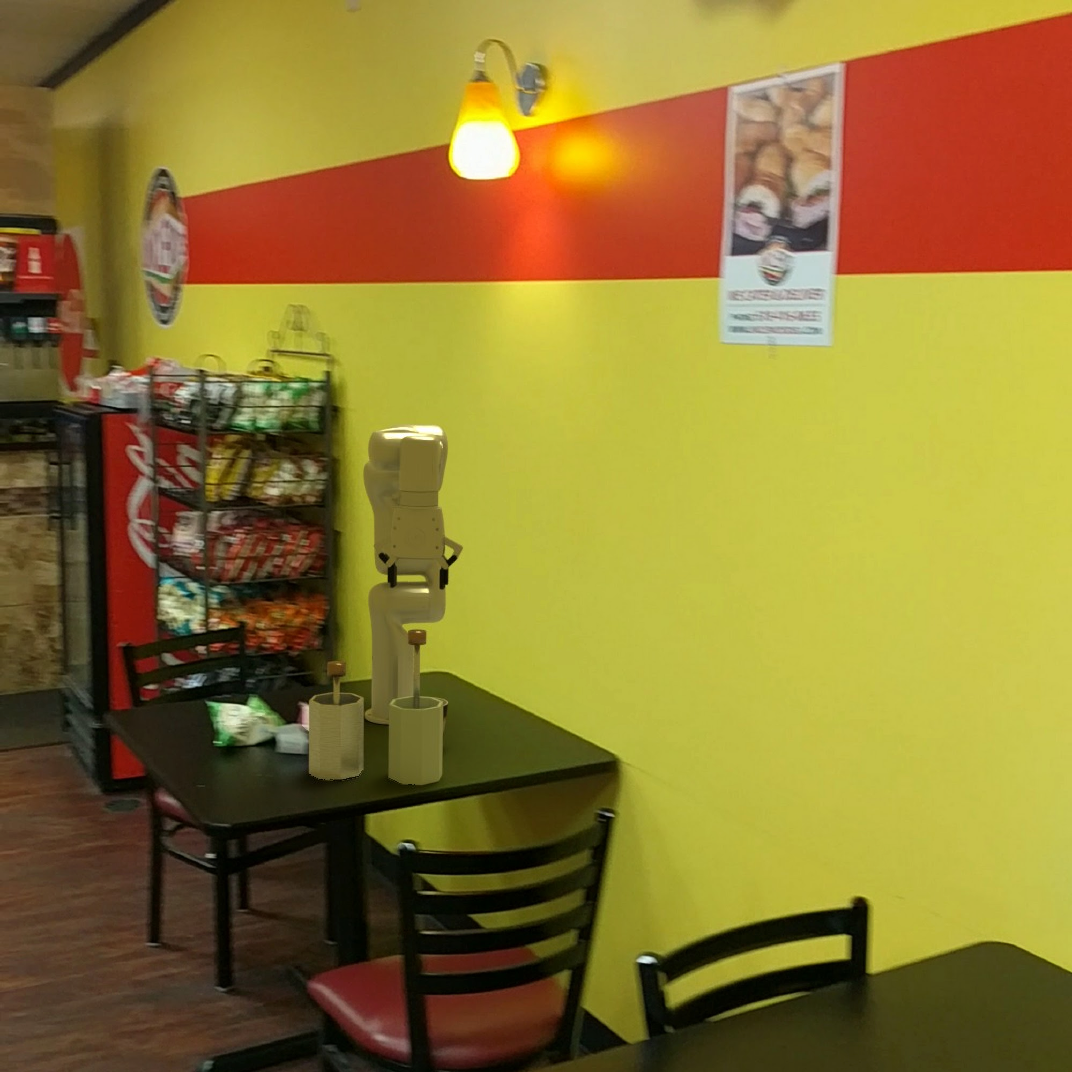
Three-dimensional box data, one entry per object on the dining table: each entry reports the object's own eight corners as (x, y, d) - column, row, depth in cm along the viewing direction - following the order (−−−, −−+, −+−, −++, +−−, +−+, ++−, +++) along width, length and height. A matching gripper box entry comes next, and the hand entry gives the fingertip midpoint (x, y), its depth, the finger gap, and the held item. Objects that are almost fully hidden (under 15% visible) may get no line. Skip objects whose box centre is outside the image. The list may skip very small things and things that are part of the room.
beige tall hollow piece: (318, 763, 268) (318, 691, 266) (366, 765, 267) (367, 694, 265) (305, 779, 258) (305, 704, 256) (355, 781, 257) (355, 707, 255)
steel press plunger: (322, 740, 266) (322, 657, 264) (359, 742, 265) (359, 659, 263) (312, 751, 258) (312, 666, 256) (350, 753, 258) (351, 668, 255)
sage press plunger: (400, 709, 264) (401, 626, 261) (438, 711, 263) (439, 628, 261) (393, 720, 256) (394, 634, 254) (431, 722, 255) (433, 636, 253)
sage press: (395, 767, 267) (396, 695, 264) (444, 770, 266) (445, 697, 264) (385, 783, 257) (386, 708, 255) (436, 786, 256) (437, 710, 254)
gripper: (370, 500, 251) (369, 589, 253) (460, 503, 249) (459, 592, 251) (378, 496, 258) (378, 583, 260) (466, 499, 256) (464, 586, 259)
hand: (417, 587), depth 256 cm, fingers open, 9 cm apart
